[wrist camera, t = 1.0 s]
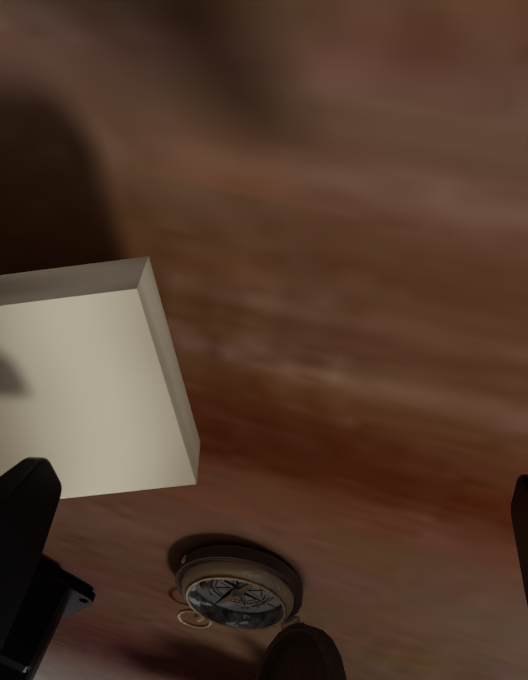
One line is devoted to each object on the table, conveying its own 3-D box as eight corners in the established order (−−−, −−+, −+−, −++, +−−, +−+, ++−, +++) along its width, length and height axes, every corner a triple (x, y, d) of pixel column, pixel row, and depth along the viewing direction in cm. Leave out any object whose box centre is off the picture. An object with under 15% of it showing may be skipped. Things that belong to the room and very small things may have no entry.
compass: (220, 520, 22) (171, 717, 16) (356, 596, 24) (356, 795, 18) (139, 582, 26) (78, 754, 20) (259, 641, 28) (234, 813, 22)
